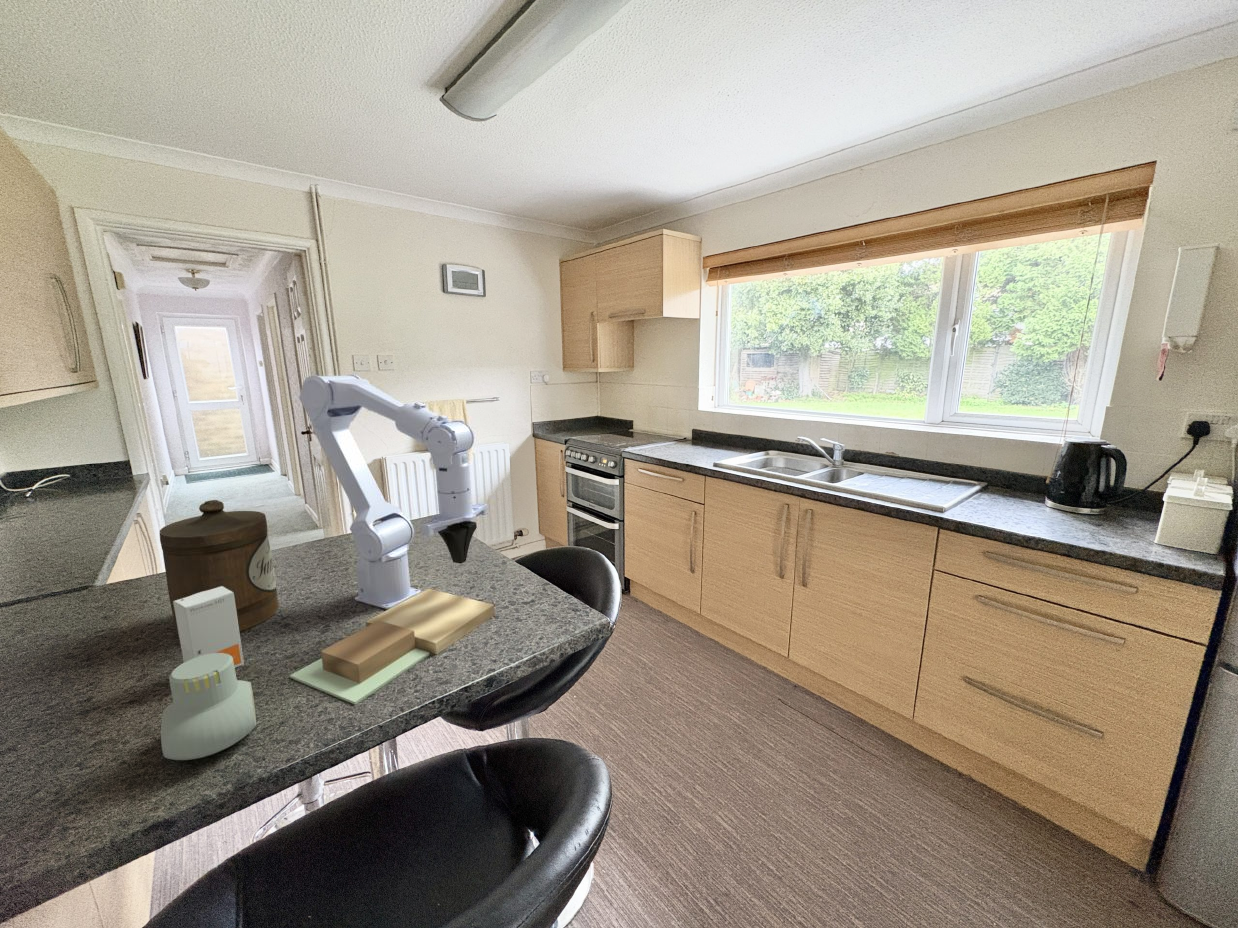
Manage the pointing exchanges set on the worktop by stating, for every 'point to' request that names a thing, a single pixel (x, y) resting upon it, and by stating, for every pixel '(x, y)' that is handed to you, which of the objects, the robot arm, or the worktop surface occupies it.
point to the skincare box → (209, 625)
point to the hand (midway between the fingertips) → (459, 561)
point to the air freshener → (206, 708)
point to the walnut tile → (368, 651)
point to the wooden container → (222, 560)
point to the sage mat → (349, 688)
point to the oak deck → (437, 618)
